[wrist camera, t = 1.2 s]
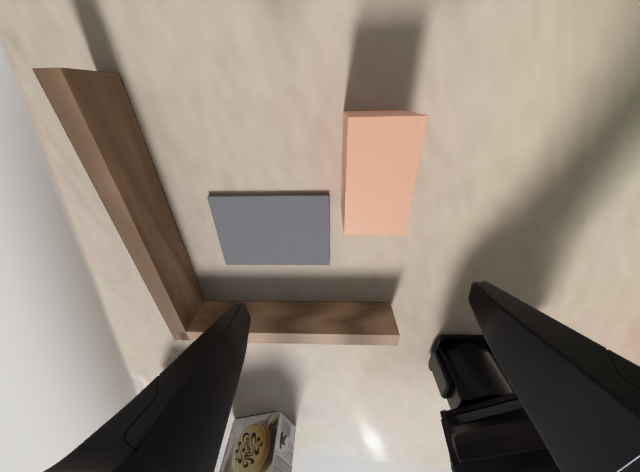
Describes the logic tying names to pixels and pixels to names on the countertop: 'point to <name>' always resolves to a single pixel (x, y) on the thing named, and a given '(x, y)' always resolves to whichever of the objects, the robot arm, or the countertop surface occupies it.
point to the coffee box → (260, 444)
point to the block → (379, 170)
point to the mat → (272, 228)
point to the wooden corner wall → (161, 231)
